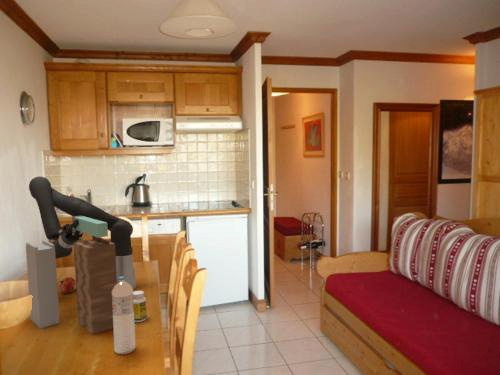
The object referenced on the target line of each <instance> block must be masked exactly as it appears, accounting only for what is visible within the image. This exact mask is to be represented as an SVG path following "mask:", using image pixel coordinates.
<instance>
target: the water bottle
mask: <svg viewBox="0 0 500 375" xmlns="http://www.w3.org/2000/svg"><path fill="white" fill-rule="evenodd" d="M124 280H125V277H124V276H121V277H119V282H118V283H117V284H116V285H115V286H114V287H113V289H112V291H111V294H112V306H113V329H112V330H113V349H114V353H116V355H127V354H130V353H132V352H134V351H135V349H136V330H135V329H136V328H135V326H136V325H135V322H134V309H133V292H134V289H133V288H132V286H131V285H130V284H129V283H127V282H126V281H124Z"/></svg>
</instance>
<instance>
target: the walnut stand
mask: <svg viewBox="0 0 500 375" xmlns="http://www.w3.org/2000/svg"><path fill="white" fill-rule="evenodd" d="M91 238H92V239H87V238H83V237H80V238H79V241H78V242H75V243H74V246H73V251H74V252H73V253H74V254H73V255H74V269H75V271H74V272H75V290H76V291H75V292H76V307H77V308H76V309H77V322H78V325H79V326H81V327H82V328H84V329H85V330H86V331H88V332H89V334H91V335H97V334H100V333H103V332H106V331H109V330H113V306H112V294H111V291H112V289H113V287H114V286H115V285H116V284H117V273H116V252H115V244H114V243H111V239H110V240H109V239H106V238H105V237H99V238H98V237H95V236H92V235H91Z"/></svg>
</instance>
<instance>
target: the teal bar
mask: <svg viewBox="0 0 500 375" xmlns="http://www.w3.org/2000/svg"><path fill="white" fill-rule="evenodd" d="M71 218H72V219H71V220H72V222H74V221H75V220H76V219H78V221H79V225H78V226H77V227H76V229H75V230H77V231H80V232H83V234H85V235H86V234H87V235H89V236H91V237H92V236H95V237H98V238H99V237H101V238H105V237H108V236H109V230H108V227H107V222H103V221H99V220H96V219H92V218H88V217H84V216H74V217H73V216H71ZM72 222H71V223H72Z"/></svg>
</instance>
